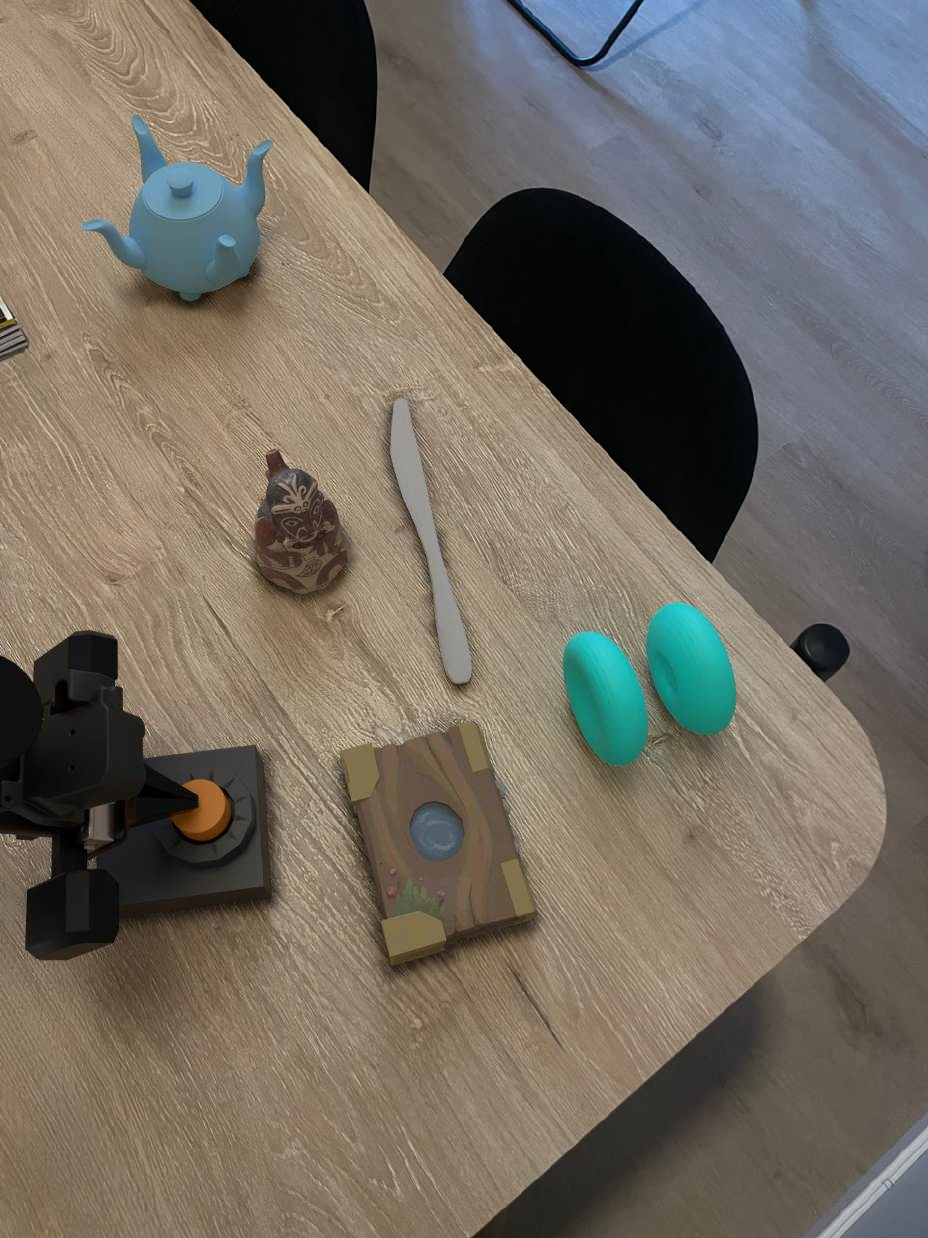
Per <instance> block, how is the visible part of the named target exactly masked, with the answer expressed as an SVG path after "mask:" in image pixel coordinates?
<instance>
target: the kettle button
mask: <svg viewBox="0 0 928 1238" xmlns="http://www.w3.org/2000/svg"><path fill="white" fill-rule="evenodd" d="M182 786H183V787H185V788H187V789H188V790H190V791H192V792H194V793H195V794H197V795H198V796H199V801H198V802H199V808H197V809H195V810H193V811H190V812H187V813H183V814H180V815H176V816H173V817H171V818H172V820H173V822H174V823H175V825H176V826H177V827H178V828H179V829H180V831H181V832H182V833H183V834H184V835H185V836H187V837H188V838H190V839H192V840H196V841H208V840H211V839H214V838H216V837H217V836H219V835H220V834H221V833H222V832H223V831H224V830H225V829H226V827H227V826H228V824H229V821H230V818H231V807H230V804H229V802H228V800H227V798H226V797H225V795H224V793H223V792H222V790H221V789H220V788H219V787H218V786H217V785H216V784H215V783H213V782H211V781H208V780H203V779H198V780H192V781H189V782H187V783H185V784H184V785H182Z"/></svg>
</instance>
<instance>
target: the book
mask: <svg viewBox="0 0 928 1238" xmlns="http://www.w3.org/2000/svg"><path fill="white" fill-rule="evenodd" d="M339 757H340V761H341V767H342V770H343V774H344V778H345V782H346V787H347V789H348V793H349V798H350V802H351V805H352V809H353V813H354V817H355V818H356V817H357V820H358V823H359V824H358V825H359V828H360V833H361V836H362V839H363V843H364V847H365V851H366V855H367V860H368V863H369V867H370V870H371V871H370V872H371V875H372V878H373V882H374V886H375V889H376V894H377V897H378V901H379V904H380V908H381V913H382V917H383V920H380V924H381V929H382V933H383V938H384V940H385V945H386V949H387V953H388V958H389V961H390V965H391V966H392V967H394V966H398V965H400V964H403V963H404V964H405V963H407V962H411V961H414V960H417V959H418V960H419V959H421V958H425V957H428V956H431V955H435V954H437V953H438V954H439V953H441V952H445V951H446V947H445V946H448V945H450V944H455V943H457V942H458V941H459V939H461V938H463V939H471V938H474V937H477V936H478V937H479V936H481V935H484V934H487V933H490V932H493V931H495V929H497V930H501V929H504V928H508V927H510V926H511V927H512V926H516V925H519V924H522V923H527V922H530V921H531V920H533V919H534V918H536V917H537V915H539V911H538V908H537V905H536V901H535V897H534V896H533V891H532V888H531V886H530V881H529V879H528V876H527V873H526V869H525V867H524V862H523V860H522V858H521V854H520V850H521V846H520V845H519V843H518V842H519V835H518V832H517V830H516V829H515V828H513V826H511V823H510V820H509V816H508V815H510V814H511V811H512V810H511V807H510V806H509V805H508V804H507V803H506V802H505V801H504V798H505V796H506V788H505V787H504V786H503V785H502V784H501V783H500V782H499V781H498V780H497V777H496V774H495V771H494V767H493V765H492V762H491V758H490V755H489V752H488V749H487V745H486V742H485V738H484V735H483V733H482V730H481V727H480V725H479V723H477V722H476V721H474V720H473V721H468V722H465V723H461V724H458V725H455V726H451V727H449V728H448V729H446V730H445V731H444V732H443V731H437V732H434V733H429V734H426V735H425V736H417V737H414V738H410V739H406V740H405V741H404V742H403V743H402V744H398V745H396V744H395V743H390V744H385V745H384V744H383V746H382V747H381V746H379V747H375V748H374V746H373V742H367V743H364V744H360V745H357V746H353V747H352V746H351V747H348V748H345V749H340V750H339Z"/></svg>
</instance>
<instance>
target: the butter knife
mask: <svg viewBox="0 0 928 1238" xmlns="http://www.w3.org/2000/svg"><path fill="white" fill-rule="evenodd" d="M390 427H391V428H390V449H389V455H390V458H391V463H392V466H393V470H394V473H395V477H396V481H397V484H398V487H399V490H400V493H401V496H402V499H403V501H404V504H405V506H406V508H407V510H408V512H409V514H410V517H411V520H412V521H413V523H414V525H415V528H416V532H417V535H418V538H419V540H420V543H421V545H422V548H423V551H424V554H425V557H426V563H427V568H428V572H429V579H430V582H431V589H432V598H433V599H432V600H433V611H434V619H435V627H436V634H437V639H438V645H439V646H438V647H439V651H440V656H441V660H442V664H443V668H444V671H445V675H446V676H447V678H448V679H449V680H450V682H451V683H452V684H454V685H461V684H462V685H463V684H466V683H468V682H469V681H470V680H471V675H472V671H473V663H472V658H471V652H470V647H469V643H468V639H467V636H466V631H465V627H464V624H463V621H462V617H461V614H460V609H459V607H458V604H457V601H456V598H455V596H454V593H453V589H452V587H451V583H450V580H449V577H448V574H447V573H448V572H447V570H446V566H445V562H444V559H443V555H442V552H441V548H440V544H439V540H438V539H439V538H438V535H437V531H436V527H435V522H434V516H433V511H432V506H431V502H430V497H429V492H428V487H427V482H426V479H425V473H424V467H423V464H422V460H421V455H420V450H419V447H418V443H417V439H416V435H415V431H414V427H413V423H412V417H411V412H410V408H409V404H408V399H405V398H401V397H400V398H398V399H396V400H395V401H394V403H393V409H392V417H391V426H390Z"/></svg>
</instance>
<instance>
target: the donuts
mask: <svg viewBox="0 0 928 1238" xmlns="http://www.w3.org/2000/svg"><path fill="white" fill-rule="evenodd" d="M645 640H646V643H645V647H646V648H645V649H646V658H647V664H648V668H649V673H650V675H651V679H652V682H653V684H654V687H655V689H656V692H657V694H658V696H659V698H660V700H661V702H662V704H663V705H664V706H665V708H666V710H667V711H668V713H669V714H670V716H672V718H673V719H674V720H675V721H676V722H677V723H678V724H679V725H680V726H682V727H683V728H684V729H686V730H687V731H689V732H692V733H694V734H697V735H700V736H701V735H702V736H713V735H715V734H718V733H720V732H723V731H724V730H725V729H726V728H727V727H728V725H729V724H730V723H731V722H732V719H733V717H734V715H735V712H736V707H737V686H736V679H735V675H734V671H733V667H732V663H731V660H730V657H729V655H728V652H727V649H726V646H725V645H724V642H723V640H722V638H721V636H720V635H719V633H718V632H717V629H715V626H714V625H713V623H712V622H711V621H710V620H709V619H708V618H707V616H706V615H705V614H704V613H703V612H701V610H699V609H697V608H696V607H695V606H693V605H691V604H688V603H685V602H671V603H668V604H665V605H664V606H662V607H660V608H659V609H658V610H657V611H656V612H655V613H654V615H653V616H652V618H651V621H650V622H649V624H648V628H647V632H646V639H645ZM562 671H563V673H562V674H563V681H564V686H565V690H566V694H567V697H568V701H569V704H570V707H571V710H572V713H573V716H574V718H575V721H576V723H577V725H578V727H579V730H580V732H581V734H582V735H583V738H584V739H585V741H586V743H587V744H588V746H589V748H590V749H591V750H592V751H593V753H594V754H595V756H597V757H598V759H600V760H601V761H602V762H604V763H606V764H608V765H611V766H614V767H623V766H629V765H630V764H631V763H633V762H635V761H636V760H637V759H638V758H640V756H641V754H642V753H643V751H644V749H645V746H646V743H647V739H648V733H649V717H648V710H647V704H646V701H645V697H644V692H643V690H642V686H641V684H640V681H639V679H638V676H637V674H636V672H635V670H634V667H633V665H632V664H631V662H630V660H629V658H628V657H627V656H626V654H625V653H624V651H622V649H621V648H620V647H619V645H617V644H616V643H615V642H614V641H613V640H612V639H610V638H609V637H608V636H606V635H604V634H602V633H599V632H596V631H591V630H589V631H582V632H579V633H576V634H575V635H574V636H572V637H571V638H570V639H569V640H568V641H567V644H566V645H565V647H564V649H563V656H562Z"/></svg>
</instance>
